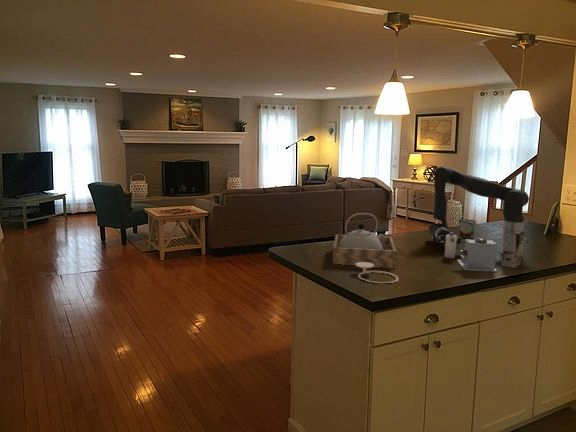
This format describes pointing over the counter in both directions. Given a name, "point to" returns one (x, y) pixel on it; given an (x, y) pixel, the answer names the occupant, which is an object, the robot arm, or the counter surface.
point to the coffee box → (512, 248)
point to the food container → (466, 228)
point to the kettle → (361, 237)
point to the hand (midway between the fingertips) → (448, 242)
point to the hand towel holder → (370, 265)
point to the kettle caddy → (366, 254)
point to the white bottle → (450, 245)
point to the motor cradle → (478, 255)
